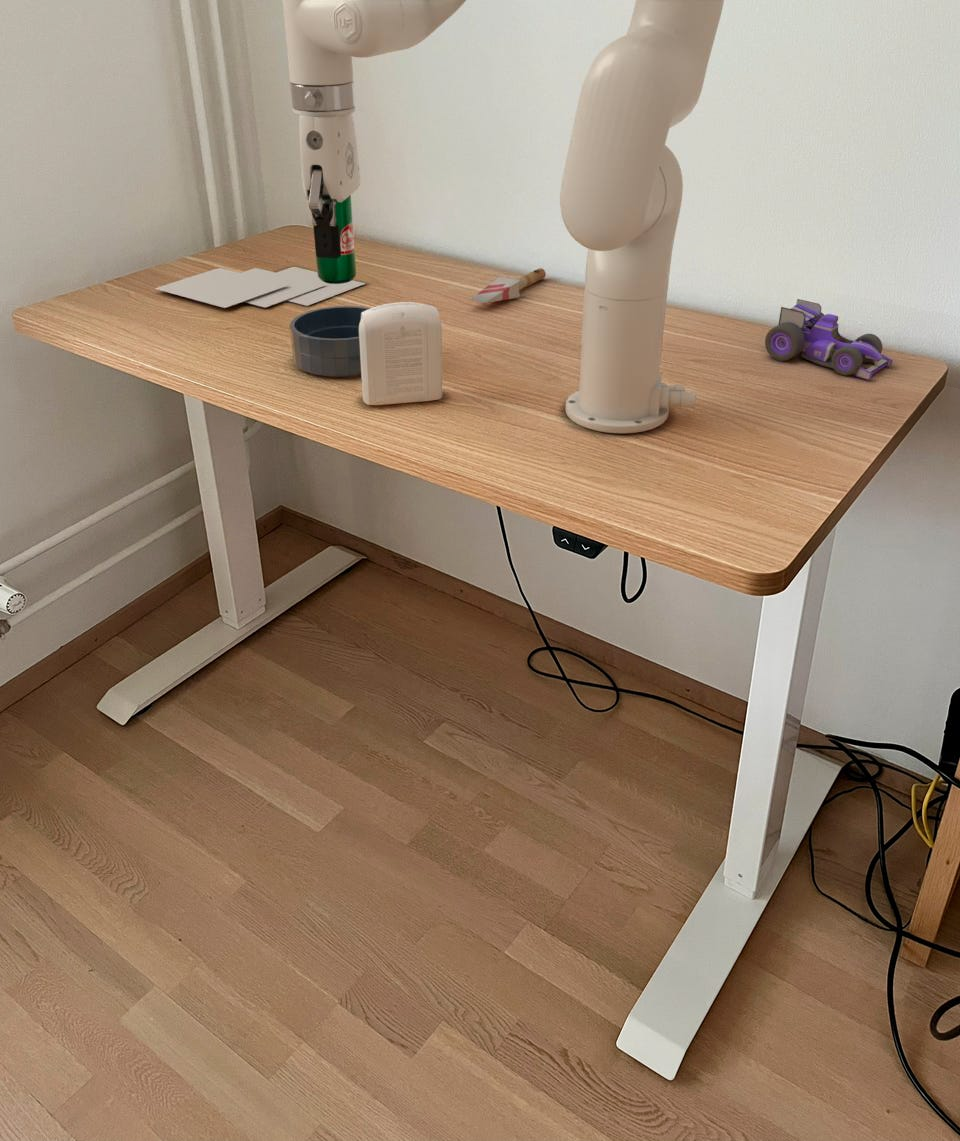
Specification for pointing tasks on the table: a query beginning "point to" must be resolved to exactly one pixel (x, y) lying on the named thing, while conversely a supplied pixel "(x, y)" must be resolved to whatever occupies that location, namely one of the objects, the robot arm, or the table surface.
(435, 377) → the photo printer
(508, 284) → the paintbrush
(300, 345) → the bowl
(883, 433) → the table surface
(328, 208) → the soda can
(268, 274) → the paper stack
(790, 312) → the toy race car
